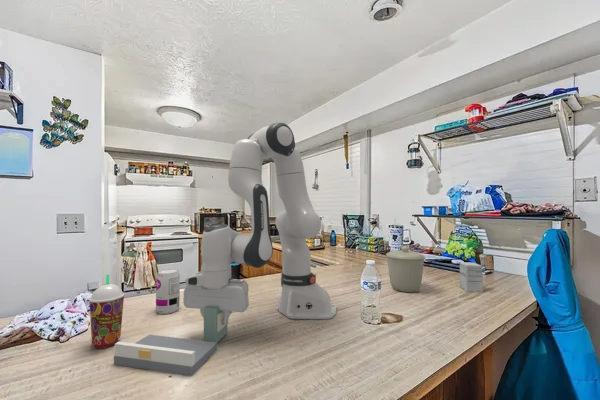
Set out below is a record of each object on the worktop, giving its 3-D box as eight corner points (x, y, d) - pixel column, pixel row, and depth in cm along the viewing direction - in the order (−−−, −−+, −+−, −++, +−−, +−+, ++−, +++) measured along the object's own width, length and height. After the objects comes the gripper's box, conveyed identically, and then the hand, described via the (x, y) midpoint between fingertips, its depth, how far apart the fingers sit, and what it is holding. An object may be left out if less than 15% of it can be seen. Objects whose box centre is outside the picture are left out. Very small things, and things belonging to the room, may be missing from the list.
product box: (227, 332, 86) (228, 300, 86) (216, 343, 79) (216, 309, 79) (215, 331, 87) (215, 299, 87) (202, 342, 80) (203, 307, 80)
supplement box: (459, 287, 136) (459, 261, 136) (475, 287, 135) (475, 262, 135) (466, 291, 129) (465, 265, 129) (483, 292, 128) (482, 265, 128)
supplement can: (155, 316, 99) (156, 274, 99) (155, 308, 106) (156, 270, 107) (179, 312, 103) (180, 272, 103) (178, 305, 110) (179, 268, 110)
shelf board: (217, 349, 76) (217, 331, 76) (191, 376, 64) (191, 354, 64) (149, 341, 81) (149, 324, 81) (113, 364, 69) (113, 344, 69)
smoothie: (96, 354, 73) (97, 280, 74) (82, 346, 78) (84, 275, 78) (129, 341, 80) (130, 273, 81) (115, 334, 85) (116, 270, 85)
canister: (432, 295, 123) (432, 248, 124) (392, 295, 124) (392, 248, 124) (416, 284, 142) (416, 243, 142) (381, 283, 142) (381, 243, 142)
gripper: (252, 277, 84) (252, 322, 84) (192, 273, 88) (192, 316, 88) (243, 282, 78) (243, 331, 78) (180, 278, 82) (180, 325, 82)
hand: (216, 323), depth 83 cm, fingers closed on product box, 4 cm apart
